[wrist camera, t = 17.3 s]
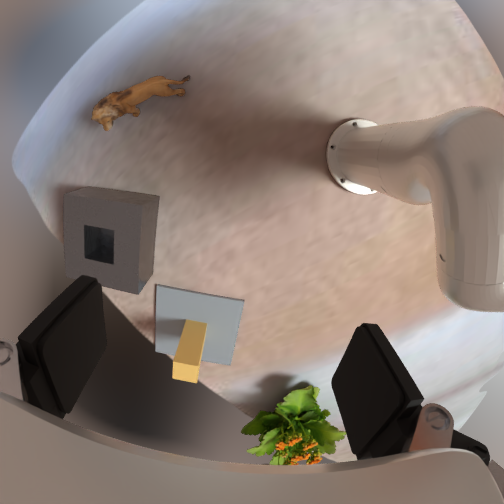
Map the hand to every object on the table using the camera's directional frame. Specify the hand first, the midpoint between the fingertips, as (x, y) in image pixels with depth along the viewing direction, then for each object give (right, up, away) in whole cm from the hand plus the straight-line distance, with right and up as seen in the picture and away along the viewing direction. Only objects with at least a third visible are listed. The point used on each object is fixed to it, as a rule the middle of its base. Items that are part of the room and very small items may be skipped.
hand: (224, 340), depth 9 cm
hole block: (-22, +7, +36) cm, 43 cm away
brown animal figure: (-16, +27, +29) cm, 42 cm away
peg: (-10, -12, +42) cm, 45 cm away
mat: (-10, -12, +43) cm, 45 cm away
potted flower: (+12, -37, +53) cm, 66 cm away
